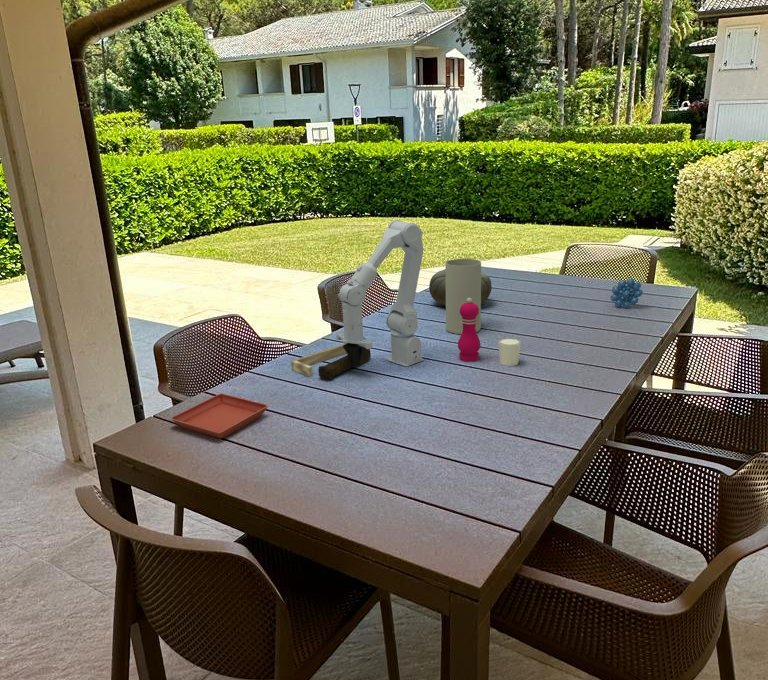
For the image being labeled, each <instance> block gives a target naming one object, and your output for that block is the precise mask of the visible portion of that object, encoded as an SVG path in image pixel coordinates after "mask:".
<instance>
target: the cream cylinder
mask: <svg viewBox="0 0 768 680" xmlns="http://www.w3.org/2000/svg"><path fill="white" fill-rule="evenodd" d="M521 343H522V342H521V340H520V339H516V338H503V339H499V340H498V353H499V354H498V355H499V364H501V365H503V366H506V367H514V366H518V364H519V361H520V360H519V359H520V352H521Z"/></svg>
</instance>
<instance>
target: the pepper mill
mask: <svg viewBox="0 0 768 680" xmlns="http://www.w3.org/2000/svg"><path fill="white" fill-rule="evenodd" d="M466 302H467V303H464V304H462V305H461V307H460V315H461V316H462V318H461V322H462V323H463V331H462V334H460V336H459V338H458V342H457V348H458V350H459V351H460V352H459V357H458V358H459V360H460V361H463V362H469V363H470V362H471V363H472V362H476V361H478V360H479V359H480V353H479V350H480V349H481V341H480V338H479V336H478V333H477V332H476V323H477V317H476V316H477V315H478V313H479V308H478V306H477V305H476V304H475V303H472V299H471V298H467V300H466Z"/></svg>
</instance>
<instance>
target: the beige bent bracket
mask: <svg viewBox="0 0 768 680" xmlns="http://www.w3.org/2000/svg"><path fill="white" fill-rule="evenodd" d="M345 344H346V343H343V344H339V345H336V346H333V347H330V348H327V349H325V350H321V351H318V352H317V351H316V352H314V353H311V354H308V355H305V356H302V357H299V358H296V359H294V360H291V361H290V362H291V363H290V364H291V370H292V371H294V372H297V373H298V374H301V375H304V376H306V377H309V378H311V377H313V366H314V365H315V364H319V363H322V362H325V361H327V360H330V359H333V358H334V359H335V358H337V357H340V356H342V355H347V353H346V351H345V349H344V348H343V345H345ZM312 365H313V366H312Z"/></svg>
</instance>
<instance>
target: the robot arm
mask: <svg viewBox="0 0 768 680" xmlns="http://www.w3.org/2000/svg"><path fill="white" fill-rule="evenodd" d="M422 237H423V231H422V229H421V227H419V225H418V224H417V223H415V222H407V221H401V220H400V219H396V220H392V221H391V222H390V223H389V225H388V226H387V228H386V229H385V230H384V231H383V236H382V238H381V240H380V241H379V243H378V245H377V246H376V248H375V249H374V251H373V253H372V254H371V255H370V258H368V261H367V262H363V263H361V264H360V265H358V266H357V267H356V271H355V273H353V275H352V276H351V278H350V279H348V281H347V283H346V284H343V285H342V286H341V287H340V289H339V293H337V296H338V300H340V301H341V305H342V319H343V320H342V321H343V332H341V331H340V332H338V333H336V336H335V337H336V340H337V341H342V343H343V344H345V345H343V348H344V349H345V351H346V356H347V355H348V357H349V360H350V363H351V366H352V367H351V368H356V367H359V366H360V365H359V364H360V359H361V355H362V353H363V350H364V348H366V349H370V350H371V349H373V341H372V340H370V339H368V338H366V337H365V336H364V328H363V327H364V326H363V310H362V309H363V308H362V303H363V302H365V299H366V292H367V290H368V288H369V287H370V285H372V283H373V281H374V280H375V279H376V277H377V276H378V270H377V269H378V268H379V267H380V266H381V264H382V263H383V262H384V261H385V260H386V258H387V257H388V256H389V255H390V253H391V252H392V251H393V250H394V249H397V248H401V250H403V252H404V258H403V262H402V267H401V274H400V277H399V279H400V280H399V285H398V290H397V296H396V301H395V302H394V304H392V305H391V307H390V311H389V313H388V314H387V316H386V319H385V323H386V327H388V329H389V332H390V345H391V346H390V347H391V354H390V355H391V356H389V357H387V358H385V360H386V361H388V362H391V363H394V364H397V365H400V366H402V367H403V366H404V367H409V366H412V365H414V364H416V363H417V364H418V363H419V362H422V361H424V358H422V341H421V339H420V338H419V337H417V336H416V335H415V333H416V332H417V329H418V324H419V323H418V319H417V318H418V312H417V310H416V308H415V306H414V304H415V303H414V302H415V297H416V293H417V286H418V281H419V276H420V271H421V266H422V261H423V256H424V245H423V238H422Z"/></svg>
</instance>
